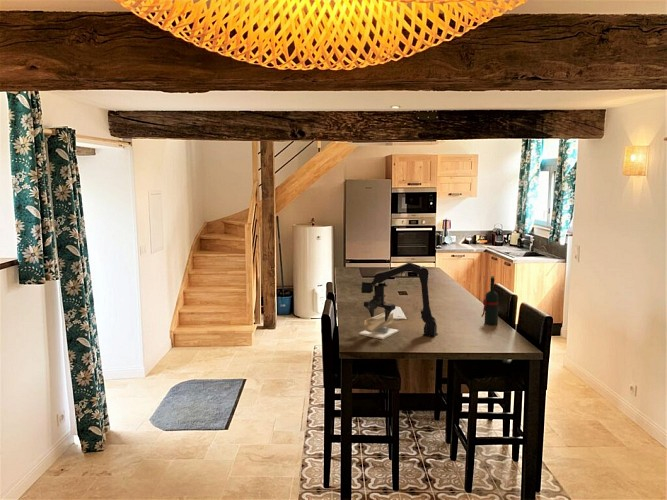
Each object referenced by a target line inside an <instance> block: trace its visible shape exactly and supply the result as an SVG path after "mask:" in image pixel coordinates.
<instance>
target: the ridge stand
mask: <svg viewBox="0 0 667 500" xmlns="http://www.w3.org/2000/svg"><path fill="white" fill-rule="evenodd" d="M399 332H400V329H395V328H390V327H387V326H384V327H382V328H379V329H377V330H375V331H373V332H368V331H365V330H362V331H360V332H358V333H359V334H358V335H360V336H365V337H369V338H375V339H378V340H379V339H380V340H385V339H387V338H388V337H390V336H394V335H395V334H397V333H399Z"/></svg>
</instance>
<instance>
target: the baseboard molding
mask: <svg viewBox="0 0 667 500" xmlns="http://www.w3.org/2000/svg"><path fill="white" fill-rule="evenodd" d="M391 312H392V313H393V321H400V320H399V319H407V320H409V318H408V317H406V315H405V314H404V311H403V310H402V308H401V307H400V306H395V309H394V310H392V311H391Z"/></svg>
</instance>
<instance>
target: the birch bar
mask: <svg viewBox="0 0 667 500" xmlns="http://www.w3.org/2000/svg"><path fill="white" fill-rule="evenodd" d="M393 323H394V320H393V313H392V312H391V313H390V314H389V317H388V319H387V321H385V312H382V313H380V314H378V315H374V317H372V318H371V317H369V318H367V319H365V320H364V331H368V332H373V331H375V330H377V329H379V328H382V327H387V326H388V325H391V324H393Z"/></svg>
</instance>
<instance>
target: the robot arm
mask: <svg viewBox="0 0 667 500" xmlns="http://www.w3.org/2000/svg"><path fill="white" fill-rule="evenodd" d="M407 271H411V272H413V273H414V274H417V275H418V277H419V282H420V284H421V285H420V286H421V296H422V297H421V298H422V308H420V309H419V310H420V318H421V319H422V322H423V323H424V326H423V334H422V335H423V336H426V337H430V338H431V337H432V338H434V337H436V336H437V335H439V333H437V329H438V328H437V327H438V325H437V321H436V318H435V317H434V316H433V313H432V309H431V306H430V296H429V287H428V286H429V285H428V282H429V281H428V280H429V269H428V267H427V266H424V265H422V266H421V265H419V264H416V263H413V262H410V261H409V262H407V263H404V264H401V265H399V266H396V267H393V268H390V269H386V270H381V271H380V270H379V271H377V272H376V273H375V274H374V276H373V279H372V280H371V281H362V282H361V288H360V290H361V291H360V292H361V294H372V293H374V295H372V299H371V300H370V299H369V300H365V301H364V302H363V307H364V308H365V309H367V310H368V312H369V314H370V318H372V317H375V310H376V309H377V308H382V309H384V310H383V311H384V312H383V313H385V321H387V319H388V317H389V314H390V313H391V311H392V310H394V309H395V307H396V304H394V303H387V304H386V301H385V297H386V294H385V287H388V283H386V282H385V281H387V280H388V279H389V278H391V277H393V276H396V275H400V274H403V273H405V272H407Z"/></svg>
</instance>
